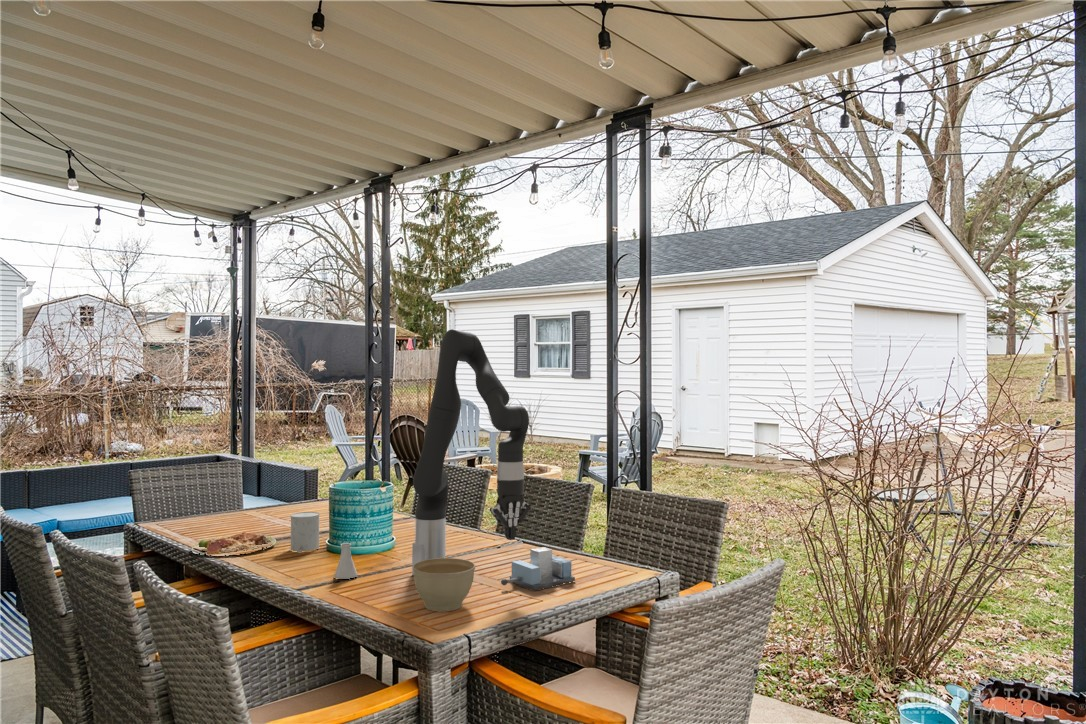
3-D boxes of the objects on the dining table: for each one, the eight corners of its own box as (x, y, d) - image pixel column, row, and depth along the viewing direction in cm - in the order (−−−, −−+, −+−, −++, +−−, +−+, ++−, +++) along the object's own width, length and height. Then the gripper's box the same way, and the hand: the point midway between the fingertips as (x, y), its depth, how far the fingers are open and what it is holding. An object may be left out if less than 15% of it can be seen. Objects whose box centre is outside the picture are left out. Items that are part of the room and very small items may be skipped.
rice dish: (235, 565, 235) (236, 548, 235) (171, 554, 245) (172, 538, 245) (293, 546, 261) (293, 531, 261) (233, 537, 271) (233, 522, 271)
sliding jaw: (511, 590, 199) (511, 572, 199) (491, 581, 207) (491, 565, 207) (541, 583, 205) (541, 566, 205) (521, 575, 213) (521, 559, 213)
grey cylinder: (284, 551, 248) (284, 515, 248) (303, 545, 257) (303, 511, 257) (306, 554, 244) (306, 517, 245) (325, 548, 253) (325, 513, 254)
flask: (335, 582, 211) (336, 547, 211) (330, 576, 218) (331, 543, 218) (360, 579, 214) (360, 545, 215) (355, 573, 221) (355, 540, 221)
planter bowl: (448, 621, 177) (448, 576, 178) (399, 609, 186) (400, 567, 186) (487, 603, 191) (487, 562, 191) (440, 594, 200) (440, 554, 200)
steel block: (538, 579, 209) (538, 552, 209) (530, 576, 212) (530, 549, 212) (552, 577, 212) (552, 549, 212) (543, 574, 215) (543, 547, 215)
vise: (533, 591, 202) (533, 569, 203) (509, 581, 212) (509, 561, 212) (574, 582, 211) (574, 561, 212) (549, 573, 221) (550, 553, 221)
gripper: (522, 474, 209) (521, 534, 209) (483, 477, 201) (483, 540, 201) (537, 476, 203) (537, 538, 203) (498, 480, 195) (498, 545, 195)
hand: (510, 539), depth 202 cm, fingers closed
